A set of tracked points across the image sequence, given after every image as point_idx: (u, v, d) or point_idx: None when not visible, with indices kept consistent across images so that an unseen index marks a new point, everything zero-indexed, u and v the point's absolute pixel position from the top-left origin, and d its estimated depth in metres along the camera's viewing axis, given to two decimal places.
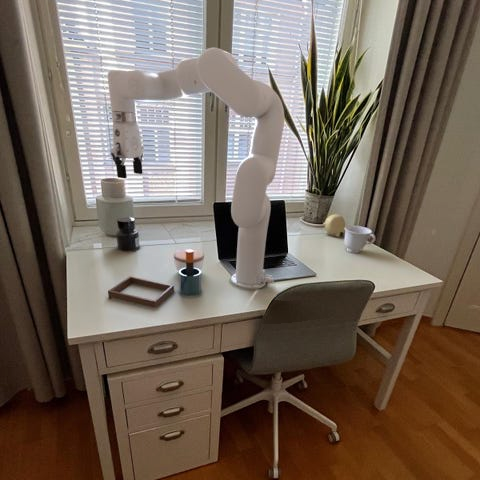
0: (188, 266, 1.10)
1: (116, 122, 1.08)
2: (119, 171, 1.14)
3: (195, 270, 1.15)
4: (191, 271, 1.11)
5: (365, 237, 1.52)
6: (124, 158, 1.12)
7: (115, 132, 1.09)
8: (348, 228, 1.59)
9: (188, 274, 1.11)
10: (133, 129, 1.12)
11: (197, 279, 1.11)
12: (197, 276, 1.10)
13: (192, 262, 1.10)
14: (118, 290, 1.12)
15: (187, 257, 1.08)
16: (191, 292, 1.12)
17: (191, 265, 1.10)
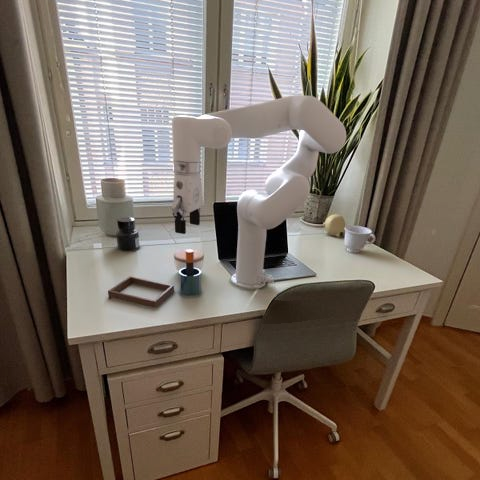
0: (188, 266, 1.10)
1: (178, 173, 0.94)
2: (178, 226, 0.99)
3: (195, 270, 1.15)
4: (191, 271, 1.11)
5: (365, 237, 1.52)
6: (185, 212, 0.98)
7: (176, 184, 0.95)
8: (348, 228, 1.59)
9: (188, 274, 1.11)
10: (196, 180, 0.97)
11: (197, 279, 1.11)
12: (197, 276, 1.10)
13: (192, 262, 1.10)
14: (118, 290, 1.12)
15: (187, 257, 1.08)
16: (191, 292, 1.12)
17: (191, 265, 1.10)
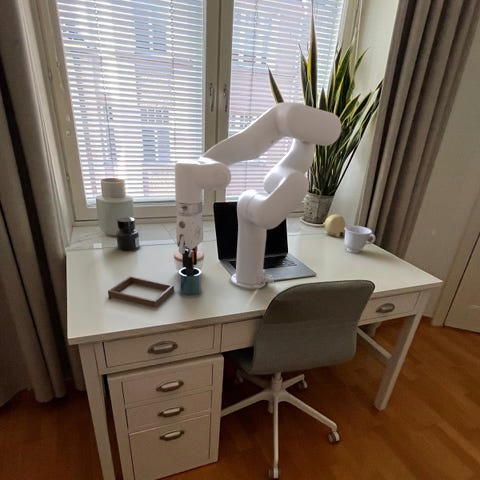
0: None
1: (181, 213, 0.99)
2: (185, 262, 1.08)
3: (195, 270, 1.15)
4: (191, 271, 1.11)
5: (365, 237, 1.52)
6: (190, 249, 1.05)
7: (179, 223, 1.00)
8: (348, 228, 1.59)
9: (188, 274, 1.11)
10: (198, 218, 1.02)
11: (197, 279, 1.11)
12: (197, 276, 1.10)
13: None
14: (118, 290, 1.12)
15: None
16: (191, 292, 1.12)
17: None
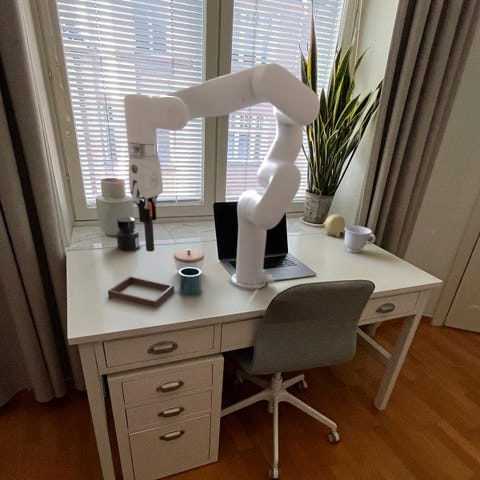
0: None
1: (133, 156, 0.88)
2: (142, 215, 0.97)
3: (195, 270, 1.15)
4: (149, 227, 1.00)
5: (365, 237, 1.52)
6: (146, 200, 0.95)
7: (132, 168, 0.89)
8: (348, 228, 1.59)
9: (146, 230, 1.01)
10: (153, 164, 0.92)
11: (197, 279, 1.11)
12: (197, 276, 1.10)
13: (150, 216, 0.99)
14: (118, 290, 1.12)
15: None
16: (191, 292, 1.12)
17: None
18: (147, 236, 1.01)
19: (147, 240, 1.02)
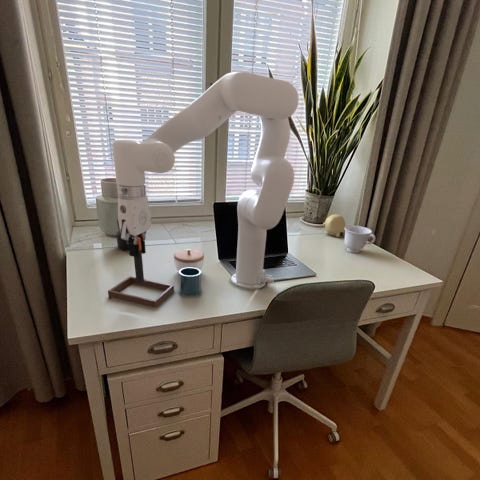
0: None
1: (122, 197, 0.93)
2: (131, 250, 1.01)
3: (195, 270, 1.15)
4: (139, 260, 1.04)
5: (365, 237, 1.52)
6: (135, 236, 0.99)
7: (120, 208, 0.94)
8: (348, 228, 1.59)
9: (136, 263, 1.05)
10: (142, 203, 0.96)
11: (197, 279, 1.11)
12: (197, 276, 1.10)
13: (139, 250, 1.03)
14: (118, 290, 1.12)
15: None
16: (191, 292, 1.12)
17: None
18: (137, 269, 1.06)
19: (137, 272, 1.06)
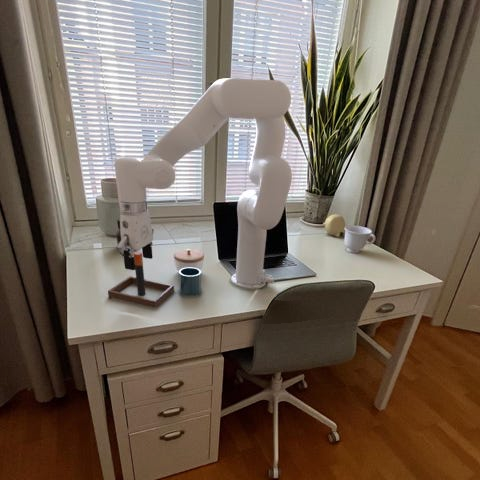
0: (137, 269, 1.06)
1: (124, 213, 0.95)
2: (127, 263, 1.00)
3: (195, 270, 1.15)
4: (140, 274, 1.07)
5: (365, 237, 1.52)
6: (133, 250, 0.99)
7: (123, 223, 0.96)
8: (348, 228, 1.59)
9: (137, 277, 1.07)
10: (143, 218, 0.98)
11: (197, 279, 1.11)
12: (197, 276, 1.10)
13: (141, 265, 1.06)
14: (118, 290, 1.12)
15: (135, 260, 1.04)
16: (191, 292, 1.12)
17: (140, 268, 1.06)
18: (139, 283, 1.08)
19: (138, 286, 1.09)
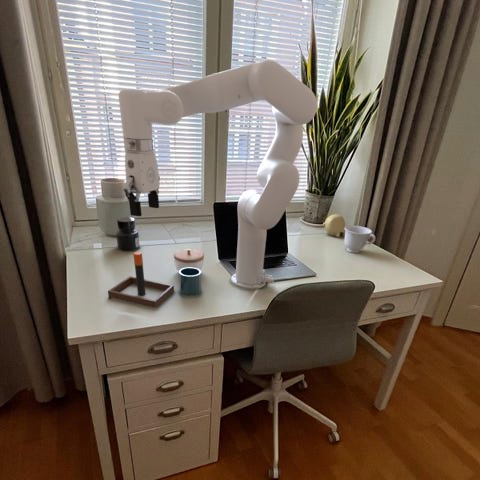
0: (137, 269, 1.06)
1: (129, 151, 0.89)
2: (133, 208, 0.95)
3: (195, 270, 1.15)
4: (140, 274, 1.07)
5: (365, 237, 1.52)
6: (139, 193, 0.93)
7: (128, 163, 0.90)
8: (348, 228, 1.59)
9: (137, 277, 1.07)
10: (150, 159, 0.93)
11: (197, 279, 1.11)
12: (197, 276, 1.10)
13: (141, 265, 1.06)
14: (118, 290, 1.12)
15: (135, 260, 1.04)
16: (191, 292, 1.12)
17: (140, 268, 1.06)
18: (139, 283, 1.08)
19: (138, 286, 1.09)
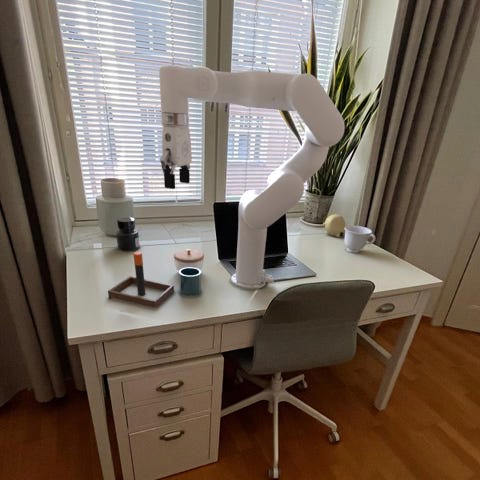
0: (137, 269, 1.06)
1: (167, 125, 0.94)
2: (167, 181, 0.99)
3: (195, 270, 1.15)
4: (140, 274, 1.07)
5: (365, 237, 1.52)
6: (174, 166, 0.98)
7: (165, 136, 0.95)
8: (348, 228, 1.59)
9: (137, 277, 1.07)
10: (185, 133, 0.97)
11: (197, 279, 1.11)
12: (197, 276, 1.10)
13: (141, 265, 1.06)
14: (118, 290, 1.12)
15: (135, 260, 1.04)
16: (191, 292, 1.12)
17: (140, 268, 1.06)
18: (139, 283, 1.08)
19: (138, 286, 1.09)
